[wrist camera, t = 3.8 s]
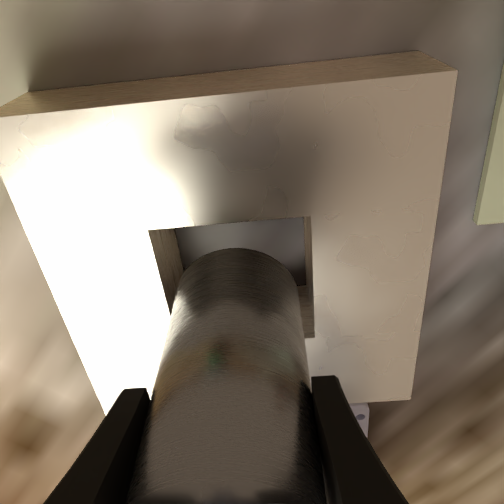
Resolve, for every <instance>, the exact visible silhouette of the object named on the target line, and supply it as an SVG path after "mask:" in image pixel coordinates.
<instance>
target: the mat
mask: <svg viewBox="0 0 504 504" xmlns="http://www.w3.org/2000/svg"><path fill="white" fill-rule="evenodd" d="M473 221H474V222H475V223H476V225H483V224H495V223H504V63H503V68H502V73H501V78H500V84H499V89H498V94H497V99H496V104H495V109H494V114H493V120H492V125H491V130H490V135H489V140H488V145H487V150H486V156H485V161H484V166H483V171H482V176H481V181H480V186H479V191H478V197H477V202H476V207H475V212H474V217H473Z"/></svg>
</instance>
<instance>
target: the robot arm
mask: <svg viewBox="0 0 504 504" xmlns="http://www.w3.org/2000/svg"><path fill="white" fill-rule="evenodd" d="M311 388H312V399H313V407H314V414H315V422H316V428H317V434H318V442H319V449H320V456H321V464H322V471H323V478H324V486H325V493H326V500H327V504H409V503H408V502H407V500H406V499H405V497H404V496H403V495H402V493H401V492H400V490H399V489H398V487H397V486H396V484H395V483H394V481H393V480H392V478H391V477H390V475H389V474H388V472H387V471H386V469H385V467H384V466H383V464H382V463H381V461H380V459H379V458H378V456H377V455H376V453H375V451H374V449H373V448H372V446H371V444H370V443H369V441H368V439H367V437H368V423H369V407H368V403H367V402H366V403H350V404H349V403H348V401H347V399H346V397H345V394H344V392H343V389H342V387H341V384H340V382H339V379H338V377H336V376H335V375H328V376H313V377H311ZM149 404H150V398H149V395H148V392H147V389H146V387H144V388H129V389H124V390H123V391H122V392H121V393H120V395H119V396H118V398H117V399H116V401H115V402H114V404H113V406H112V407H111V409H110V410H109V412H108V413H107V415H106V417H105V418H104V420H103V421H102V423H101V424H100V426H99V427H98V429H97V430H96V432H95V433H94V435H93V436H92V438H91V439H90V441H89V442H88V443H87V445H86V446H85V448H84V449H83V451H82V452H81V454H80V455H79V456H78V458H77V459H76V461H75V462H74V464H73V465H72V466H71V468H70V469H69V470H68V472H67V473H66V474H65V476H64V477H63V478H62V480H61V481H60V482H59V484H58V485H57V486H56V488H55V489H54V490H53V492H52V493H51V494H50V495H49V497H48V498H47V499H46V501H45V502H44V503H43V504H125V503H126V499H127V495H128V491H129V487H130V482H131V478H132V474H133V470H134V466H135V462H136V458H137V453H138V449H139V445H140V441H141V437H142V433H143V429H144V424H145V420H146V416H147V412H148V408H149Z"/></svg>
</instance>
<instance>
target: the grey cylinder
mask: <svg viewBox="0 0 504 504" xmlns="http://www.w3.org/2000/svg"><path fill="white" fill-rule="evenodd" d="M125 504H327V500H326V493H325V486H324V478H323V471H322V464H321V456H320V449H319V442H318V434H317V428H316V422H315V414H314V407H313V399H312V391H311V383H310V376H309V369H308V361H307V354H306V347H305V339H304V332H303V325H302V317H301V310H300V303H299V295H298V288H297V285H296V282H295V280H294V278H293V276H292V275H291V273H290V272H289V271H288V269H287V268H286V267H285V266H284V265H283V264H281V263H280V262H279V261H278V260H276V259H274V258H273V257H271V256H269V255H267V254H265V253H262V252H259V251H255V250H250V249H243V248H229V249H222V250H218V251H214V252H211V253H209V254H206V255H204V256H202V257H201V258H199V259H198V260H196V261H195V262H193V263H192V264H191V265H190V266H189V267H188V268H187V269H186V271H185V272H184V273H183V275H182V277H181V279H180V281H179V284H178V288H177V292H176V296H175V300H174V304H173V309H172V313H171V317H170V321H169V325H168V329H167V333H166V338H165V342H164V346H163V350H162V354H161V358H160V362H159V367H158V371H157V375H156V379H155V383H154V387H153V391H152V396H151V400H150V404H149V408H148V412H147V416H146V420H145V424H144V429H143V433H142V437H141V441H140V445H139V449H138V453H137V458H136V462H135V466H134V470H133V474H132V478H131V482H130V487H129V491H128V495H127V499H126V503H125Z"/></svg>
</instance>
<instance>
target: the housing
mask: <svg viewBox="0 0 504 504" xmlns="http://www.w3.org/2000/svg"><path fill="white" fill-rule="evenodd" d="M457 74H458V70H457V69H455V68H453V67H451V66H448V65H446V64H444V63H442V62H440V61H438V60H436V59H434V58H432V57H430V56H428V55H426V54H424V53H422V52H420V51H411V52H401V53H392V54H382V55H373V56H363V57H354V58H345V59H335V60H326V61H316V62H307V63H297V64H288V65H278V66H269V67H260V68H250V69H241V70H231V71H222V72H212V73H203V74H193V75H184V76H175V77H165V78H156V79H146V80H137V81H127V82H118V83H108V84H99V85H90V86H80V87H71V88H61V89H52V90H42V91H33V92H27V93H25V94H23V95H21V96H19V97H18V98H16V99H14V100H12V101H10V102H8V103H7V104H5V105H3V106H1V107H0V175H1V177H2V179H3V181H4V184H5V186H6V188H7V191H8V193H9V195H10V198H11V200H12V202H13V204H14V207H15V209H16V211H17V214H18V216H19V218H20V220H21V223H22V225H23V227H24V230H25V232H26V234H27V236H28V239H29V241H30V243H31V246H32V248H33V250H34V252H35V255H36V257H37V259H38V262H39V264H40V266H41V269H42V271H43V273H44V275H45V278H46V280H47V282H48V285H49V287H50V289H51V291H52V294H53V296H54V298H55V301H56V303H57V305H58V307H59V310H60V312H61V314H62V317H63V319H64V321H65V324H66V326H67V328H68V330H69V333H70V335H71V337H72V340H73V342H74V344H75V346H76V349H77V351H78V353H79V356H80V358H81V360H82V362H83V365H84V367H85V369H86V372H87V374H88V376H89V378H90V381H91V383H92V385H93V388H94V390H95V392H96V395H97V397H98V399H99V401H100V404H101V406H102V408H103V411H104V413H105V415H107V413H108V412H109V410H110V409H111V407H112V406H113V404H114V402H115V401H116V399H117V398H118V396H119V395H120V393H121V392H122V391H123V390H124V389H129V388H144V387H146V389H147V392H148V395H149V398H150V400H151V396H152V391H153V387H154V383H155V379H156V375H157V371H158V367H159V362H160V358H161V354H162V350H163V346H164V342H165V338H166V333H167V329H168V325H169V321H170V317H171V313H172V309H173V304H174V300H175V296H176V292H177V288H178V284H179V281H180V279H181V277H182V275H183V273H184V270H183V266H182V262H181V257H180V253H179V248H178V244H177V239H176V235H175V230H174V228H177V227H188V226H200V225H211V224H223V223H235V222H246V221H258V220H269V219H281V218H293V217H303V219H304V243H305V267H306V286H297V288H298V295H299V303H300V310H301V317H302V325H303V332H304V339H305V347H306V354H307V361H308V369H309V376H310V383H311V377H313V376H328V375H335V376H336V377H338V379H339V382H340V384H341V387H342V389H343V392H344V394H345V397H346V399H347V401H348V403H349V404H350V403H366V402H382V401H398V400H411V394H412V387H413V380H414V373H415V366H416V359H417V352H418V345H419V338H420V331H421V324H422V317H423V311H424V304H425V297H426V290H427V283H428V276H429V269H430V262H431V255H432V248H433V241H434V234H435V227H436V220H437V213H438V206H439V199H440V192H441V185H442V178H443V171H444V165H445V158H446V151H447V144H448V137H449V130H450V123H451V116H452V109H453V102H454V95H455V88H456V81H457ZM311 391H312V388H311Z"/></svg>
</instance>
